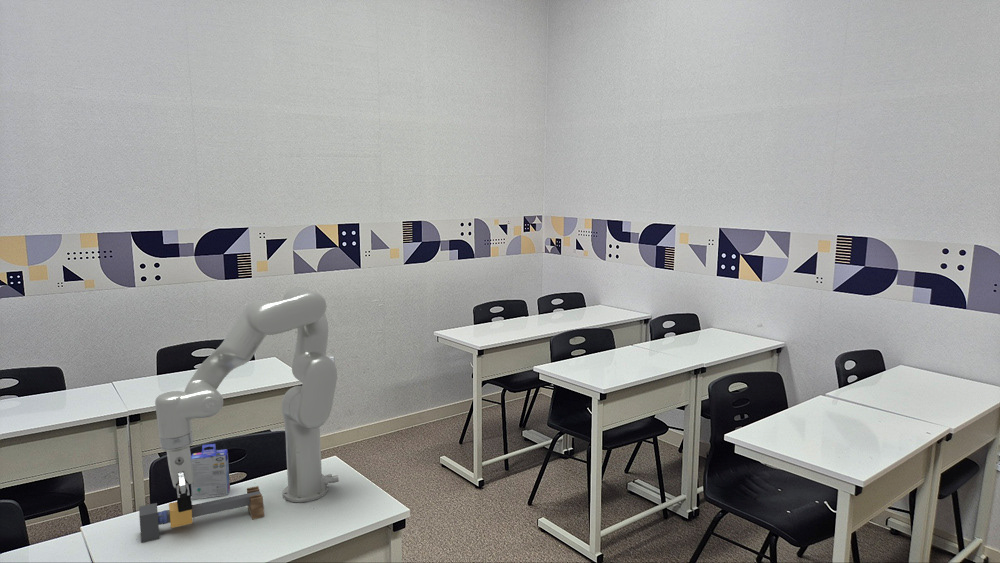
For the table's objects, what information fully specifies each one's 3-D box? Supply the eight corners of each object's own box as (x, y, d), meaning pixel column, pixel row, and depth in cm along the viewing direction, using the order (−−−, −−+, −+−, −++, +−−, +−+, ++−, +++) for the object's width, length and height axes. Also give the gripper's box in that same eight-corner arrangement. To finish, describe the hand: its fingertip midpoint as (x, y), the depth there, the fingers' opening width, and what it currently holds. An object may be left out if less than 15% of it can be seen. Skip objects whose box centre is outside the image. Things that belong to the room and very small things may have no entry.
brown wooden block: (259, 504, 183) (258, 485, 182) (264, 517, 175) (263, 497, 175) (247, 506, 181) (246, 488, 181) (252, 519, 174) (251, 500, 173)
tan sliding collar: (191, 515, 173) (190, 499, 172) (192, 523, 168) (191, 506, 168) (170, 519, 170) (168, 503, 170) (171, 528, 166) (169, 511, 165)
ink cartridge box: (230, 487, 193) (227, 440, 192) (228, 495, 188) (226, 447, 186) (194, 492, 191) (191, 444, 189) (191, 500, 185) (188, 451, 183)
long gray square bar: (260, 500, 180) (259, 488, 180) (262, 504, 177) (261, 493, 177) (149, 523, 167) (148, 511, 167) (149, 529, 164) (148, 517, 164)
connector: (164, 527, 170) (162, 501, 169) (164, 537, 165) (162, 511, 164) (141, 532, 168) (139, 506, 167) (141, 542, 163) (139, 516, 162)
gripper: (195, 448, 161) (202, 512, 164) (190, 426, 176) (197, 486, 179) (161, 455, 157) (169, 521, 160) (159, 432, 172) (166, 493, 175)
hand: (184, 502), depth 169 cm, fingers open, 9 cm apart
